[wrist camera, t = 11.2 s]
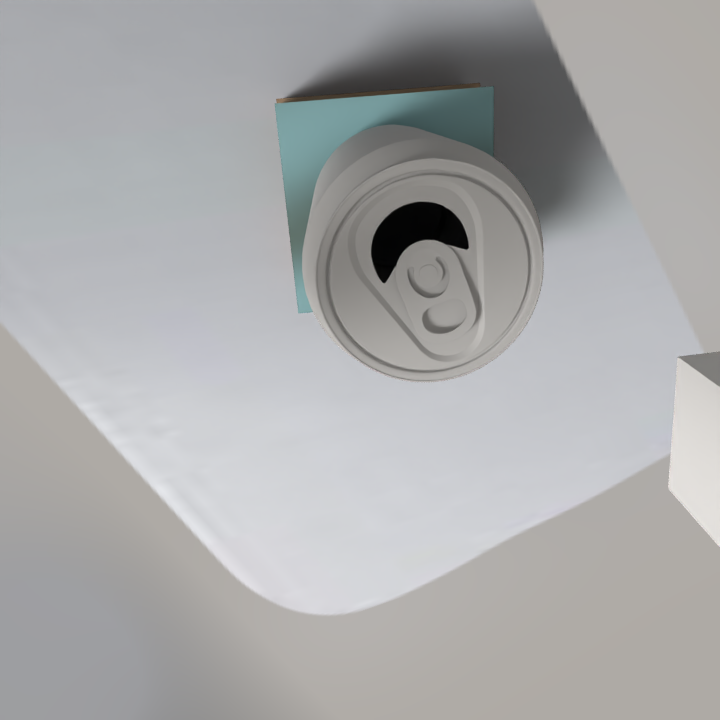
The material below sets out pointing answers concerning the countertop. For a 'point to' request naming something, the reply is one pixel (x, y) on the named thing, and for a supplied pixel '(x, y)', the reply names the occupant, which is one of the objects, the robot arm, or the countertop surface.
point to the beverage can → (420, 254)
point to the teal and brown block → (355, 114)
